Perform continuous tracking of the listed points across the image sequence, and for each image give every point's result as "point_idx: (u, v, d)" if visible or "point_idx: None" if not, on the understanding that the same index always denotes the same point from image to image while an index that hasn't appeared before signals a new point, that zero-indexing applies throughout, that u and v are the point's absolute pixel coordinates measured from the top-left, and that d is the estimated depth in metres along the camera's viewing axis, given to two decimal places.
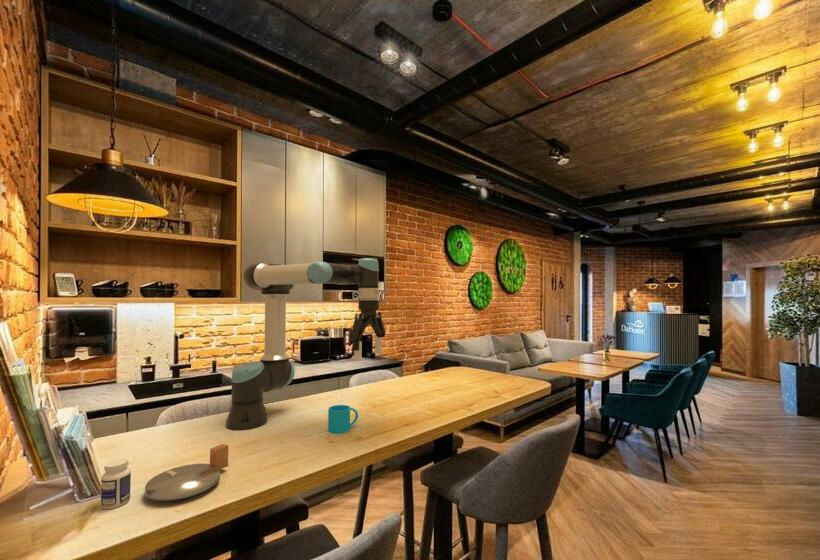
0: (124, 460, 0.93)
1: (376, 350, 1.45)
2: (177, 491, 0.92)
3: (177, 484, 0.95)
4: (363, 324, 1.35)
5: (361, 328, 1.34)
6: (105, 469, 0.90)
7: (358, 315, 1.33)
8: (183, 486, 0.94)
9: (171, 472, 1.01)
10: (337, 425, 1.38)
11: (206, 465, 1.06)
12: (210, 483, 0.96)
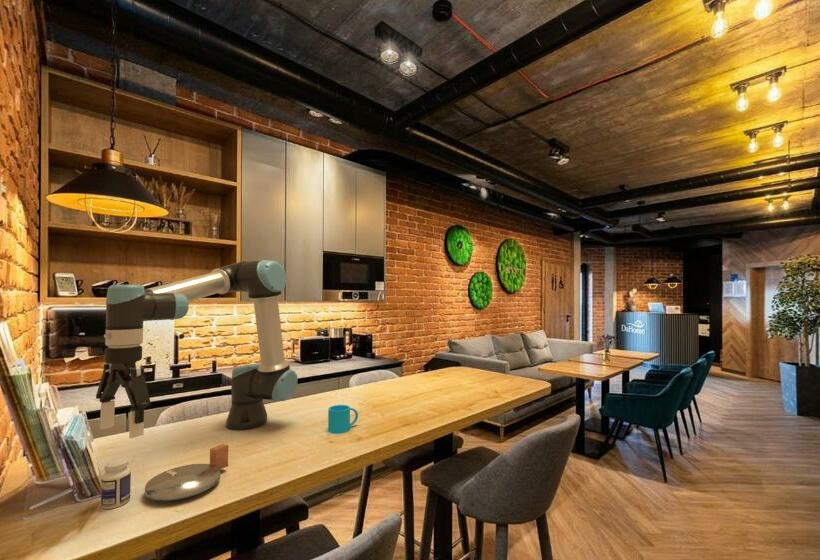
0: (124, 460, 0.93)
1: None
2: (177, 491, 0.92)
3: (177, 484, 0.95)
4: None
5: None
6: (105, 469, 0.90)
7: None
8: (183, 486, 0.94)
9: (171, 472, 1.01)
10: (337, 425, 1.38)
11: (206, 465, 1.06)
12: (210, 483, 0.96)
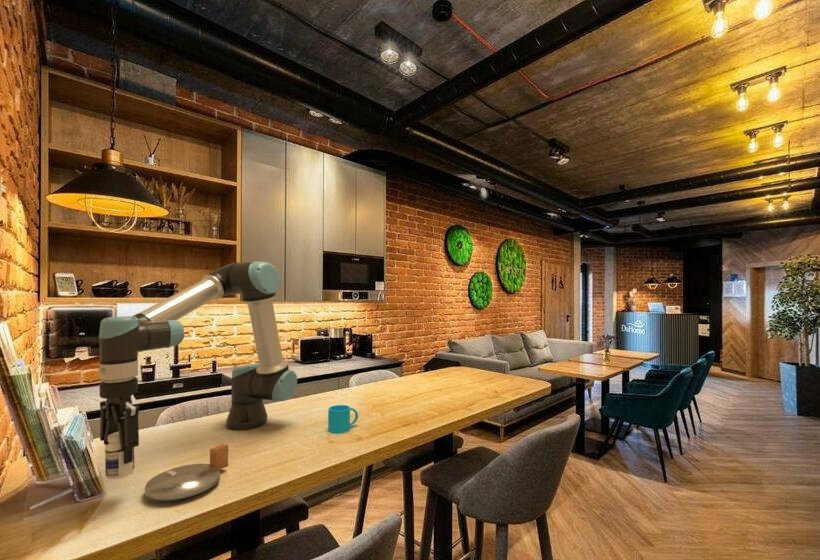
0: None
1: None
2: (177, 491, 0.92)
3: (177, 484, 0.95)
4: None
5: None
6: (108, 440, 0.91)
7: None
8: (183, 486, 0.94)
9: (171, 472, 1.01)
10: (337, 425, 1.38)
11: (206, 465, 1.06)
12: (210, 483, 0.96)
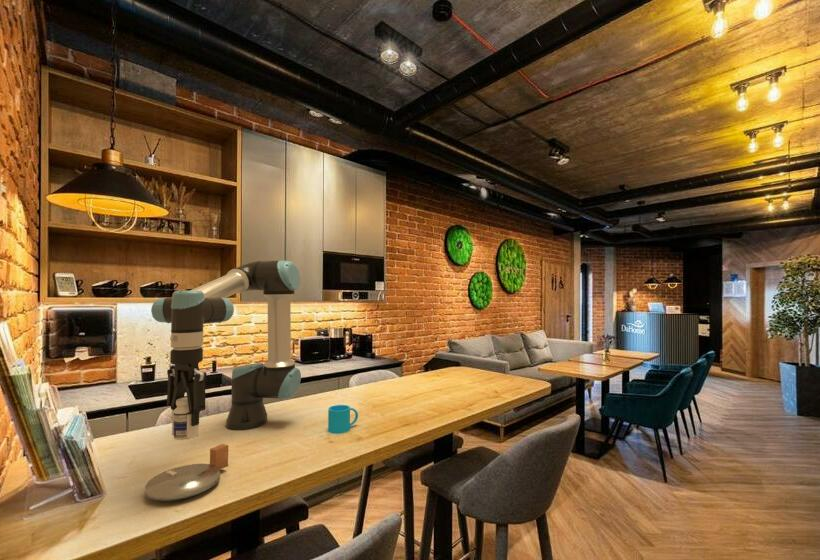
0: None
1: None
2: (177, 491, 0.92)
3: (177, 484, 0.95)
4: None
5: None
6: (177, 404, 0.97)
7: None
8: (183, 486, 0.94)
9: (171, 472, 1.01)
10: (337, 425, 1.38)
11: (206, 465, 1.06)
12: (210, 483, 0.96)
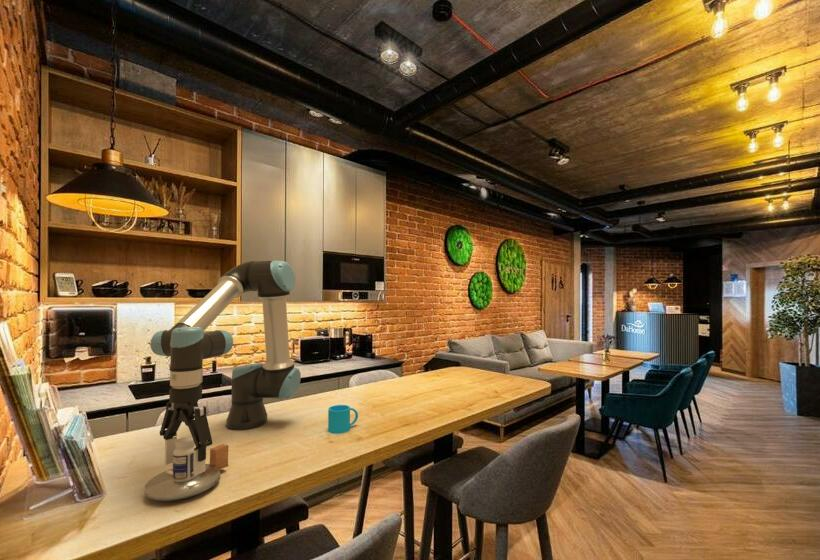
0: None
1: None
2: (177, 491, 0.92)
3: (177, 484, 0.95)
4: None
5: None
6: (176, 445, 0.97)
7: None
8: (183, 486, 0.94)
9: (171, 472, 1.01)
10: (337, 425, 1.38)
11: (206, 465, 1.06)
12: (210, 483, 0.96)
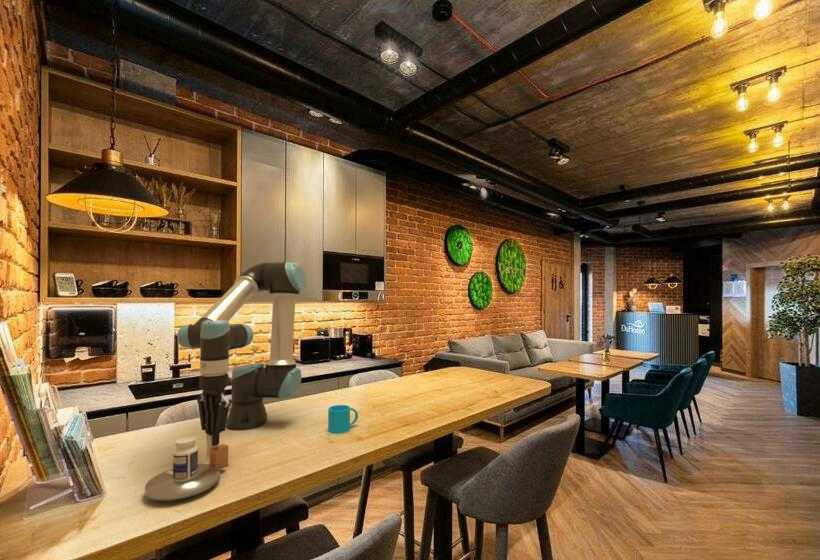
0: (192, 437, 1.00)
1: None
2: (177, 491, 0.92)
3: (177, 484, 0.95)
4: None
5: None
6: (177, 445, 0.97)
7: None
8: (183, 486, 0.94)
9: (171, 472, 1.01)
10: (337, 425, 1.38)
11: (206, 465, 1.06)
12: (210, 483, 0.96)
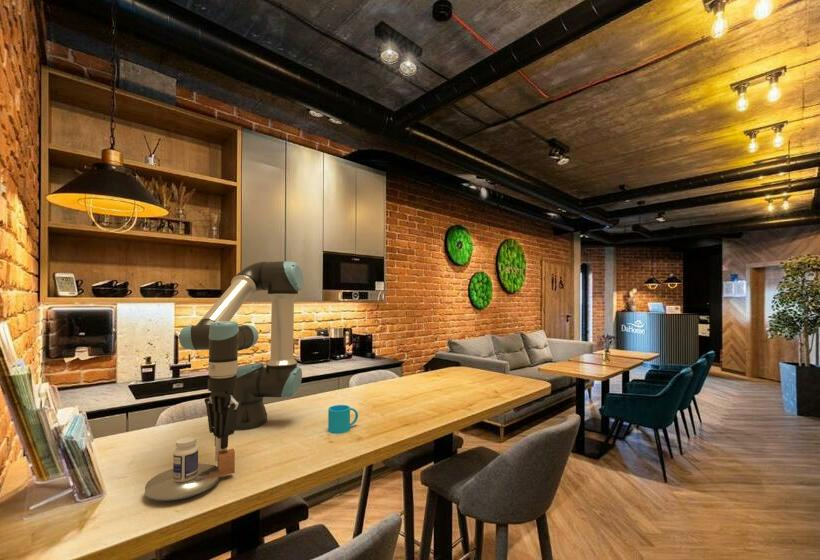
0: (193, 438, 1.00)
1: None
2: (162, 492, 0.91)
3: (171, 484, 0.95)
4: None
5: None
6: (176, 444, 0.98)
7: None
8: (173, 487, 0.94)
9: None
10: (337, 425, 1.38)
11: (214, 468, 1.04)
12: (195, 490, 0.93)
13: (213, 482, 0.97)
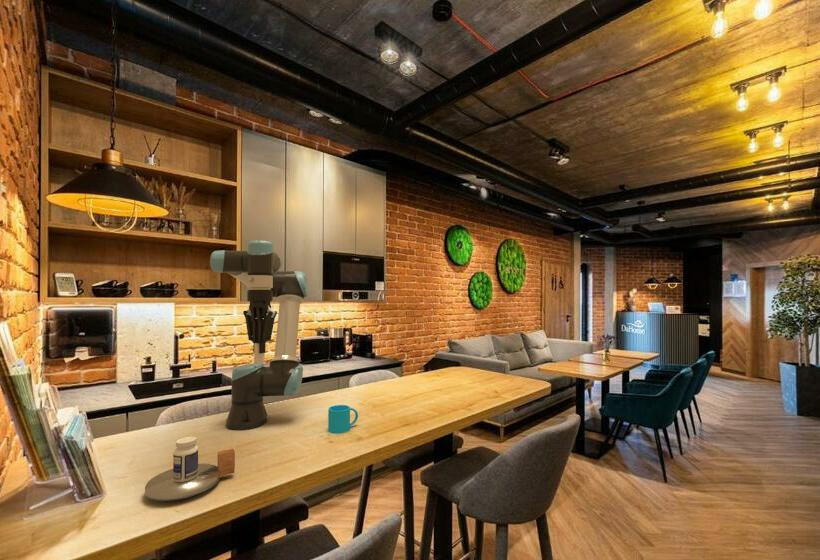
0: (193, 438, 1.00)
1: None
2: (162, 492, 0.91)
3: (171, 484, 0.95)
4: None
5: None
6: (176, 444, 0.98)
7: None
8: (173, 487, 0.94)
9: None
10: (337, 425, 1.38)
11: (214, 468, 1.04)
12: (195, 490, 0.93)
13: (213, 482, 0.97)
